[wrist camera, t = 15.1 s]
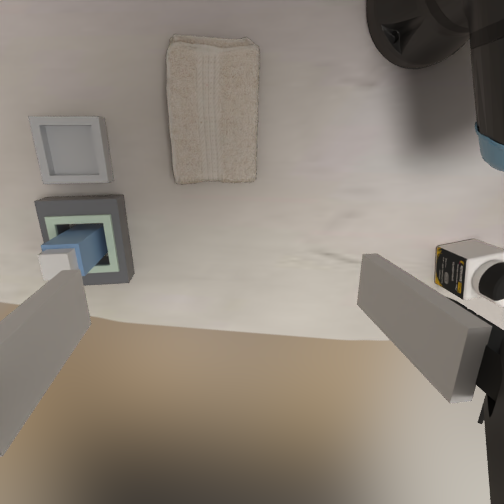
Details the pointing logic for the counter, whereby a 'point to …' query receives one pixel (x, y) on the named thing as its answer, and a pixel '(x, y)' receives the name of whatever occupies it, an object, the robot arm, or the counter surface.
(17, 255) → the counter surface
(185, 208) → the counter surface
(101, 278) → the port block
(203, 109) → the washcloth
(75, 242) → the plug
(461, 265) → the medicine bottle
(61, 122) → the grey square tray
